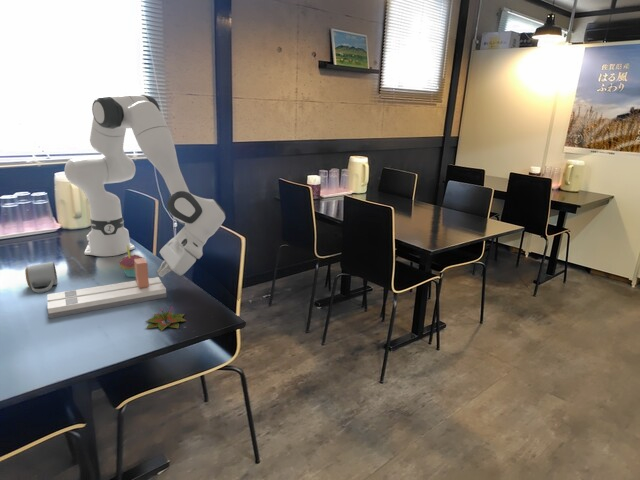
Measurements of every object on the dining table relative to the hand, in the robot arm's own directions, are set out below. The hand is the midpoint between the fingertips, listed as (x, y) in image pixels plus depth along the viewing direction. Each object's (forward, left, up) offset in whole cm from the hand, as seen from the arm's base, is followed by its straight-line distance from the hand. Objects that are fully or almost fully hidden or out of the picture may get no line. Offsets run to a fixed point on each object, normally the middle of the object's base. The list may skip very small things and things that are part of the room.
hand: (159, 274), depth 140 cm
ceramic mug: (-20, -32, -6) cm, 39 cm away
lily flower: (+22, -3, -6) cm, 23 cm away
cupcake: (-19, -5, -6) cm, 21 cm away
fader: (0, -5, -4) cm, 7 cm away
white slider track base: (0, -15, -6) cm, 16 cm away
